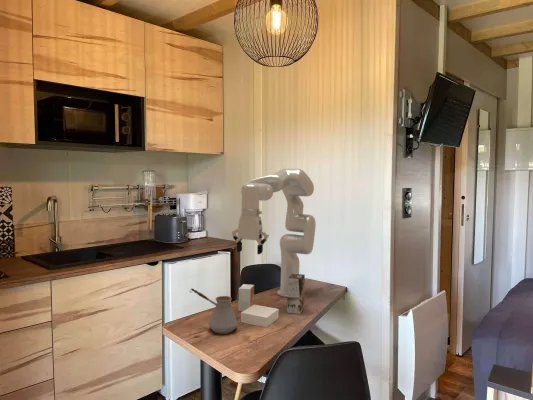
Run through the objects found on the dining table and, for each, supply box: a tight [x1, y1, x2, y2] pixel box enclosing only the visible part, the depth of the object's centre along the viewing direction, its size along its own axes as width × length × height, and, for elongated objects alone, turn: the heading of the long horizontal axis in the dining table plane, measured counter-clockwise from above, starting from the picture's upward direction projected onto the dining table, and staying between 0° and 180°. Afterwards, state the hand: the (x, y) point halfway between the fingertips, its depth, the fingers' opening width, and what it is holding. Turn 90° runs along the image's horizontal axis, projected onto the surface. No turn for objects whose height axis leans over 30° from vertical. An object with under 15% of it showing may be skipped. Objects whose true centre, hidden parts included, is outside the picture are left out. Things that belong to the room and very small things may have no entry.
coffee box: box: [286, 273, 306, 315], centre depth 183 cm, size 9×6×16 cm
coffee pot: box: [189, 288, 239, 335], centre depth 160 cm, size 21×12×15 cm, turn 67°
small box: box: [238, 283, 255, 312], centre depth 185 cm, size 8×6×10 cm
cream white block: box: [240, 304, 280, 328], centre depth 171 cm, size 12×12×4 cm
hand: (249, 252), depth 171 cm, fingers open, 9 cm apart
